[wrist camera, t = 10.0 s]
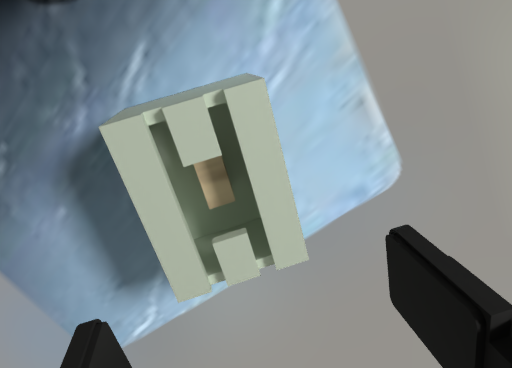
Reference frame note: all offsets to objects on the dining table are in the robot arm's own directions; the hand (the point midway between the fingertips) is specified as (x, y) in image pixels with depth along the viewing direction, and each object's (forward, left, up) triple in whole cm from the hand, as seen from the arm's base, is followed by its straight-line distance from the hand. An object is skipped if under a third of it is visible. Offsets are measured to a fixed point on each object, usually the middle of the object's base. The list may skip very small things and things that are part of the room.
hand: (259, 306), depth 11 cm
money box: (+3, -1, -25) cm, 25 cm away
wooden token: (+5, -1, -22) cm, 23 cm away
